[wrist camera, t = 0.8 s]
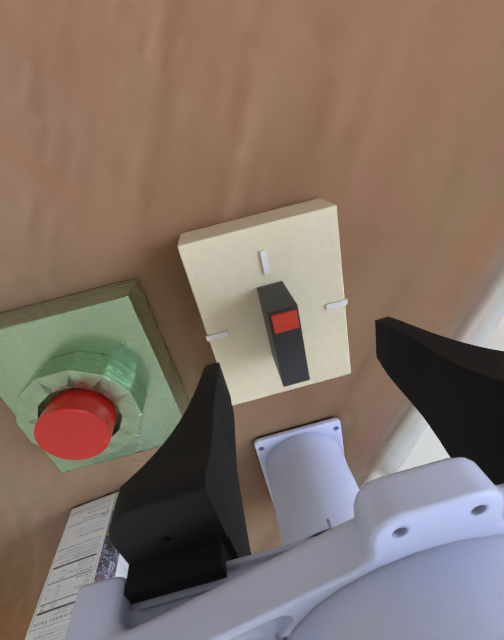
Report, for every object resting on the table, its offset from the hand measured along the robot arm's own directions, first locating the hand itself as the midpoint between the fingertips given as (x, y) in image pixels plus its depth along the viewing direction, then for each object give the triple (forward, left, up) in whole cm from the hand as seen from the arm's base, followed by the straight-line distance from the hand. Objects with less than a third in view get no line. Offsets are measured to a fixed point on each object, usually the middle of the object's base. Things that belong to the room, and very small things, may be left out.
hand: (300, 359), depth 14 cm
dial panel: (-1, 0, -9) cm, 9 cm away
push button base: (-3, +13, -9) cm, 16 cm away
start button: (-3, +13, -5) cm, 14 cm away
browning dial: (-1, 0, -6) cm, 6 cm away
